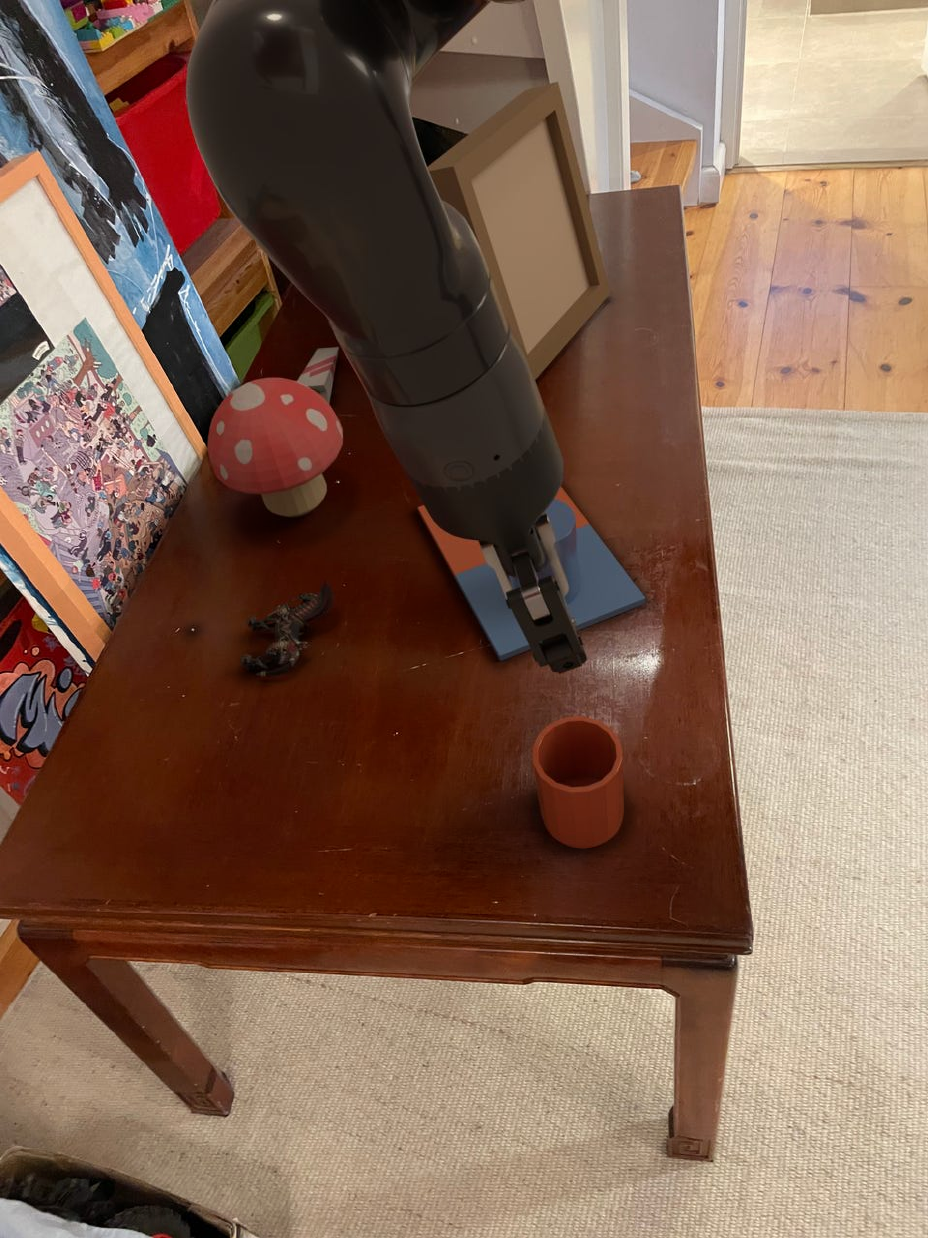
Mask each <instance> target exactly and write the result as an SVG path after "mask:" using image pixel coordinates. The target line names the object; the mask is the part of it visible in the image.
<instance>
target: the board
mask: <svg viewBox="0 0 928 1238" xmlns="http://www.w3.org/2000/svg"><path fill="white" fill-rule="evenodd" d="M555 499H557V500H560V501H562V502H564V503H566V504H567V505H569V506H570V507H571V509H572V510H573V511H574V514H575V518H576V531H577V545H578V559H579V573H580V589H579V592H578V594H577V596H576V597H575V598H574V599H573V600H572V601H571V602H570V603H568V604H567V606H568V609H569V611H570V614H571V616H572V618H573V617H575V620H576V623H577V626H575V627H576V630H577V632H578V631H581V630H582V629H586V628H589V627H590V626H593V625H595V624H598V623H600V622H603V621H606V620H608V619H611V618H613V617H615V616H618V615H621V614H624V613H626V612H628V611H631V610H633V609H636V608H638V607H640V606H643V605H645V604H646V596H645V595H644V594H643V593H642V591H641V590H640V589H639V588H638V586H637V585H636V583H635V582H634V581H633V579H631V577H630V575H628V573H627V572H626V570H625V569H624V568H623V566H622V565H621V564H620V562H619V561H618V560H617V558H616V557H615V556H614V555H613V553H612V552H611V550H610V549H609V548H608V547H607V545H606V544H605V543H604V541H603V540H602V539H601V537H600V536H599V535H598V533H597V532H596V531H595V529H594V528H593V526H592V525H591V524H590V523H589V521H588V520H587V518H586V517H585V516H584V515H583V513H582V511H580V509H579V508H578V507H577V506H576V504H575V503H574V501H573V500H572V499H571V498H570V496H569V495H568V493H567V492H566V491H565V489H564V488H563V487H562V485H561V486H560V489H559V491H558V493H557V495H556V497H555ZM417 511H418V514H419V516H420V518H421V520H422V521H423V524H424V525H425V527H426V528H427V530H428V533H429V534H430V537H431V538H432V539H433V542H434V543H435V545H436V547H437V549H438V550H439V552H440V554H441V556H442V558H443V560H444V561H445V563H446V566H448V569H449V570H450V572H451V575H452V576H453V578H454V580H455V581H456V583H457V585H458V587H459V589H460V590H461V593H462V594H463V596H464V599H465V600H466V602H467V603H468V605H469V607H470V609H471V611H472V613H473V614H474V616H475V618H476V620H477V622H478V623H479V625H480V626H481V629H482V631H483V633H484V634H485V636H486V638H487V640H488V642H489V644H490V645H491V648H492V649H493V651H494V652H495V655H496V656H497V658H498V660H499V661H500V662H502V661H505V660H508V659H510V658H513V657H515V656H517V655H520V654H523V653H525V652H528V651H531V648H530V646H529V644H528V642H527V640H526V638H525V636H524V634H523V632H522V630H521V628H520V626H519V624H518V622H517V620H516V618H515V616H514V614H513V612H512V610H511V609H509V608H508V606H507V603H506V597H505V595H504V592H503V590H502V587H501V585H500V582H499V580H498V577H497V575H496V572H495V570H494V569H493V568H491V567H490V566H489V565H488V564H487V563H486V560H485V558H484V555H483V553H482V550H481V548H480V545H479V542H478V541H476V540H469V539H463V538H459V537H456V536H453V535H451V534H449V533H447V532H445V531H444V530H442V529H441V528H440V527H439V526H438V525H437V524H436V523H435V522H434V521H433V520H432V518H431V517H430V515H429V513H428V511H427V510H426V508H425V506H424V504H422V505H420V506H417ZM509 577H510V580H511V582H512V585H513V579H512V577H511V576H509ZM513 587H514V586H513Z"/></svg>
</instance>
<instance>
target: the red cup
mask: <svg viewBox="0 0 928 1238" xmlns="http://www.w3.org/2000/svg"><path fill="white" fill-rule="evenodd" d="M622 748H623V747H622V742H621V741H620V739H619V738H618V736H617V734H616V733H615V731H614V730H613V729H612V728H611V727H609V726H608V725H606V724H605V723H604V722H602V721H601V720H599V719H596V718H592V717H588V716H584V715H579V716H578V715H577V716H566V717H563V718H560V719H557V720H555V721H553V722H550V723H549V724H548V725H547V726H546V727H545V728H544V729H542V730H541V732H540V733H538V735H537V737H536V739H535V742H534V744H533V746H532V750H531V751H532V766H533V773H534V777H535V783H536V784H535V785H536V790H537V796H538V801H539V808H540V809H539V810H540V814H541V818H542V821H543V824H544V826H545V828H546V830H547V832H548V833H549V834H550V835H551V836H552V837H553V838H554V840H556V841H558V842H559V843H561V844H563V845H565V846H567V847H570V848H575V849H592V848H595V847H598V846H601V845H603V844H605V843H607V842H608V841H610V840H611V839H612V838H613V837H615V835H616V834H617V833H618V831H619V830H620V828H621V826H622V823H623V819H624V813H625V801H624V800H625V799H624V796H625V795H624V759H623V758H624V757H623V749H622Z"/></svg>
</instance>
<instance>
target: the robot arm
mask: <svg viewBox="0 0 928 1238" xmlns="http://www.w3.org/2000/svg"><path fill="white" fill-rule="evenodd" d="M525 1H526V0H212V2H211V3H210V6H209V8H208V11H207V13H206V15H205V17H204V20H203V22H202V25H201V27H200V29H199V31H198V34H197V36H196V38H195V41H194V44H193V47H192V50H191V52H190V56H189V59H188V64H187V70H186V80H185V81H186V82H185V98H186V99H185V100H186V107H187V113H188V119H189V123H190V127H191V130H192V134H193V137H194V140H195V143H196V146H197V149H198V151H199V154H200V156H201V159H202V161H203V163H204V166H205V168H206V170H207V172H208V175H209V176H210V178H211V180H212V182H213V184H214V186H215V188H216V190H217V192H218V194H219V195H220V197H221V199H222V200H223V202H224V203H225V205H226V207H227V209H228V210H229V211H230V212H231V214H232V216H233V217H234V218H235V219H236V221H237V222H238V223H239V224H240V226H241V227H242V228H243V230H244V231H245V232H246V233H247V235H248V236H249V237H250V238H251V239H252V240H253V241H254V243H255V244H256V245H257V246H258V247H259V248H260V250H262V251H263V253H264V254H265V255H266V256H267V257H268V258H269V259H270V261H271V262H273V264H274V265H275V266H276V267H277V268H278V269H279V270H280V271H281V272H282V273H283V275H284V276H285V277H286V278H287V279H288V280H289V282H290V283H291V284H293V286H294V287H295V288H296V289H297V290H298V292H300V293H301V294H302V295H303V296H304V297H305V298H306V300H308V301H309V302H310V303H311V304H312V305H314V306H315V307H316V309H318V310H319V311H320V312H321V313H322V314H323V315H324V316H325V317H326V320H327V322H328V324H329V327H330V328H331V331H332V332H333V334H334V336H335V338H336V340H337V343H338V344H339V346H340V348H341V349H342V351H343V353H344V355H345V357H346V359H347V360H348V362H349V364H350V366H351V367H352V369H353V371H354V372H355V375H356V376H357V378H358V380H359V381H360V383H361V385H362V387H363V389H364V391H365V393H366V394H367V397H368V399H369V401H370V404H371V407H372V410H373V413H374V416H375V418H376V421H377V423H378V425H379V428H380V430H381V432H382V435H383V436H384V438H385V439H386V441H387V443H388V444H389V446H390V448H391V450H392V452H393V454H394V455H395V457H396V458H397V461H398V462H399V464H400V466H401V467H402V469H403V471H404V473H405V474H406V476H407V478H408V479H409V481H410V483H411V485H412V486H413V489H414V490H415V492H416V494H417V496H418V497H419V500H420V501H421V503H422V505H424V506H425V508H426V510H427V511H428V513H429V515H430V517H431V518H432V520H433V521H434V522H435V523H436V524H437V525H438V526H439V527H440V528H441V529H442V530H444V531H445V532H447V533H449V534H451V535H453V536H456V537H459V538H463V539H469V540H476V541H478V542H479V545H480V548H481V550H482V553H483V555H484V558H485V560H486V563H487V564H488V565H489V566H490V567H491V568H493V569H494V570H495V572H496V575H497V577H498V580H499V582H500V585H501V587H502V590H503V592H504V595H505V597H506V603H507V606H508V608H509V609H511V610H512V612H513V614H514V616H515V618H516V620H517V622H518V624H519V626H520V628H521V630H522V632H523V634H524V636H525V638H526V640H527V642H528V644H529V646H530V648H531V649H530V651H531V652H532V657H533V659H534V661H535V663H537V664H538V666H539V667H540V668H543V667H545V666H549V669H550V671H551V672H553V673H558V674H559V675H561V674H563V673H567V672H569V671H572V670H574V669H578V668H580V667H583V664H585V663H586V662H587V661H588V657H587V654H586V651H585V649H584V642H583V640H582V637H581V635H578V631H577V630H576V627H575V626H577V623H576V620H575V617H573V618H572V616H571V614H570V611H569V609H568V606H567V603H566V601H565V598H564V597H565V595H566V594H567V593H568V591H569V585H568V581H567V578H566V575H565V573H564V570H563V568H562V565H561V562H560V560H559V557H558V554H557V552H556V549H555V547H554V544H555V540H556V539H555V534H554V531H553V528H552V526H551V523H550V520H549V518H548V515H547V513H546V511H545V510H546V509H547V508H548V507H549V506H550V504H551V503H552V502H553V500H554V499H555V497H556V495H557V493H558V491H559V489H560V486H561V487H562V483H563V480H564V474H565V466H564V465H565V464H564V458H563V454H562V452H561V448H560V445H559V443H558V440H557V438H556V435H555V432H554V429H553V427H552V424H551V421H550V417H549V416H548V412H547V409H546V406H545V404H544V401H543V399H542V395H541V391H540V389H539V386H538V384H537V382H536V380H535V378H534V375H533V373H532V370H531V367H530V364H529V362H528V359H527V357H526V355H525V353H524V351H523V349H522V347H521V345H520V343H519V341H518V340H517V338H516V336H515V334H514V333H513V331H512V329H511V327H510V324H509V322H508V320H507V318H506V314H505V311H504V309H503V306H502V303H501V300H500V297H499V295H498V292H497V289H496V286H495V284H494V281H493V278H492V275H491V273H490V270H489V267H488V264H487V262H486V260H485V257H484V255H483V252H482V250H481V247H480V245H479V243H478V241H477V239H476V237H475V235H474V233H473V231H472V229H471V228H470V226H469V224H468V223H467V221H466V219H465V218H464V217H463V216H462V215H461V214H460V213H459V212H458V211H457V210H456V209H455V208H454V207H453V206H451V205H449V204H448V203H446V202H444V201H442V200H441V199H440V197H439V194H438V192H437V190H436V187H435V185H434V183H433V180H432V178H431V176H430V173H429V171H428V168H427V167H428V166H427V163H426V161H425V158H424V155H423V151H422V149H421V146H420V142H419V139H418V136H417V132H416V128H415V125H414V121H413V118H412V114H411V109H410V108H411V107H410V106H411V98H412V97H411V96H412V86H413V85H414V83H415V82H416V81H417V79H418V78H419V76H420V75H421V74H422V72H423V71H425V69H426V67H427V66H428V65H429V64H430V62H432V60H433V58H434V57H436V55H437V54H438V53H439V52H441V50H442V49H443V48H444V47H445V46H446V45H447V44H448V43H450V41H452V39H454V37H456V36H457V35H458V34H459V33H460V32H461V31H462V30H463V29H465V27H466V26H467V25H468V24H469V23H471V22H472V21H473V19H475V18H476V17H477V16H478V15H479V14H480V13H481V12H482V11H483V10H484V9H485V8H486V7H488V5H489V4H490V3H491V2H493V3H497V4H503V5H514V4H520V3H522V2H525ZM544 511H545V512H544ZM548 559H549V562H550V564H551V567H552V570H553V572H554V577H552V575H550V576H547V577H545V578H542V579H540V580H539V579H538V576H537V573H539V572H541V571H543V570H544V569H545V568H546V566H547V564H548ZM509 576H511V577H514V578H517V579H518V582H519V585H520V587H518V588H516V589H515V588H514V587H513V585H512V582H511V580H510V577H509Z"/></svg>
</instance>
